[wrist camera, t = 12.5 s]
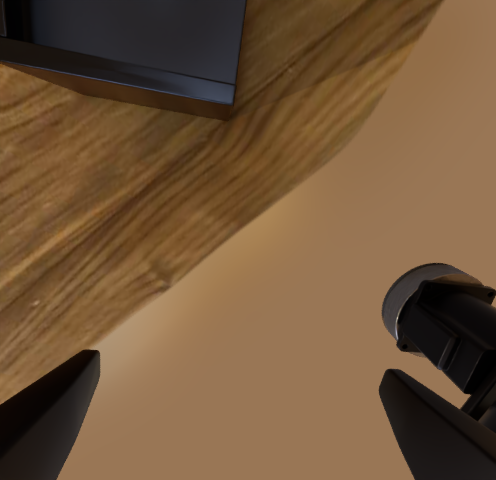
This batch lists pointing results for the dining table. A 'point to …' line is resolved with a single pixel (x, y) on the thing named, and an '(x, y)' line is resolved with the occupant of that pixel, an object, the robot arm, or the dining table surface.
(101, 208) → the dining table surface
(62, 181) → the dining table surface
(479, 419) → the robot arm
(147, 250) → the dining table surface
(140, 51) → the black open box
